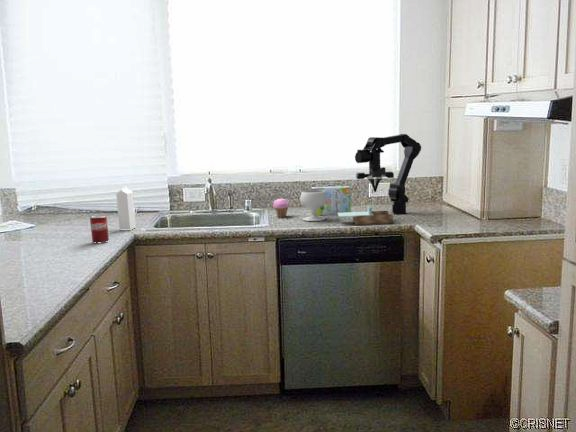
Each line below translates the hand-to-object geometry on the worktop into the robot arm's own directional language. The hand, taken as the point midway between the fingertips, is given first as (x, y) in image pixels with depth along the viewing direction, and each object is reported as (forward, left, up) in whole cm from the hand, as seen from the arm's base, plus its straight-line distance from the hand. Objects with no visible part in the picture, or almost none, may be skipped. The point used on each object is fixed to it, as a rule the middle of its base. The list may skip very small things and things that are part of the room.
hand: (375, 191), depth 306 cm
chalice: (+32, +2, -13) cm, 35 cm away
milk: (+127, +9, -13) cm, 128 cm away
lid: (+12, +16, -9) cm, 22 cm away
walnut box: (+4, +16, -13) cm, 21 cm away
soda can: (+132, +38, -13) cm, 138 cm away
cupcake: (+49, -11, -13) cm, 52 cm away
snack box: (+22, -13, -13) cm, 29 cm away
